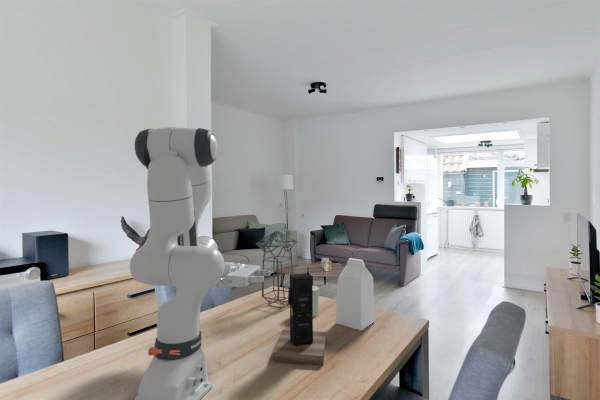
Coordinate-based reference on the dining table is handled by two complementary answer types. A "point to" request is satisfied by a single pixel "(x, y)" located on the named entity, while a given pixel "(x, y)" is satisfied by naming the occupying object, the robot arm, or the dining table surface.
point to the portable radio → (301, 308)
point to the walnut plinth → (300, 350)
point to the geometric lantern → (277, 262)
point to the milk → (355, 296)
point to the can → (315, 301)
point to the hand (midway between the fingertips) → (267, 276)
